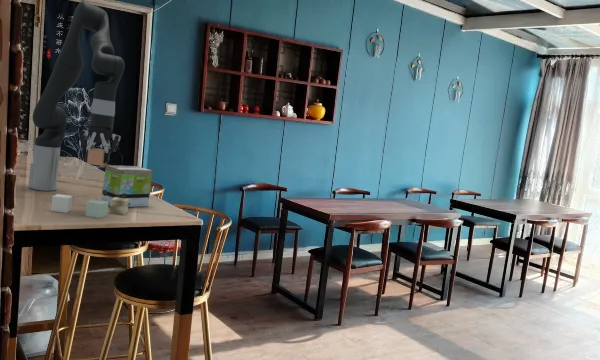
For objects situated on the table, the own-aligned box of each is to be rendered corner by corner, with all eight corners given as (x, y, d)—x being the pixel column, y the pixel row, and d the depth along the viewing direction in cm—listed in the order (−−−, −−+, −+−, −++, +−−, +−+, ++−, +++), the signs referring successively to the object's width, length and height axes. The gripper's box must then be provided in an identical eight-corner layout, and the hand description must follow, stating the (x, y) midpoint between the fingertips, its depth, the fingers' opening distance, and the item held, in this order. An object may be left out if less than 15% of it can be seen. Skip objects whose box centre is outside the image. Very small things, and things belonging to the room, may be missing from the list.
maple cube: (109, 213, 182) (111, 199, 182) (113, 210, 187) (115, 197, 187) (123, 215, 183) (125, 201, 182) (127, 212, 188) (129, 199, 187)
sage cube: (85, 215, 173) (86, 201, 172) (93, 213, 178) (95, 199, 177) (99, 218, 172) (100, 203, 172) (106, 216, 177) (108, 202, 176)
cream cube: (51, 211, 172) (52, 196, 171) (55, 208, 177) (57, 194, 176) (66, 213, 173) (68, 198, 172) (71, 210, 178) (72, 195, 177)
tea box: (117, 208, 191) (122, 169, 189) (100, 203, 196) (104, 164, 194) (149, 206, 204) (153, 169, 202) (132, 201, 209) (136, 165, 207)
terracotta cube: (86, 163, 177) (88, 149, 176) (92, 162, 182) (94, 148, 181) (101, 165, 177) (103, 151, 176) (107, 164, 182) (108, 150, 181)
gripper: (77, 109, 173) (71, 159, 175) (119, 116, 173) (113, 166, 175) (86, 110, 181) (81, 158, 183) (127, 116, 181) (121, 164, 183)
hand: (97, 162), depth 179 cm, fingers closed on terracotta cube, 5 cm apart
